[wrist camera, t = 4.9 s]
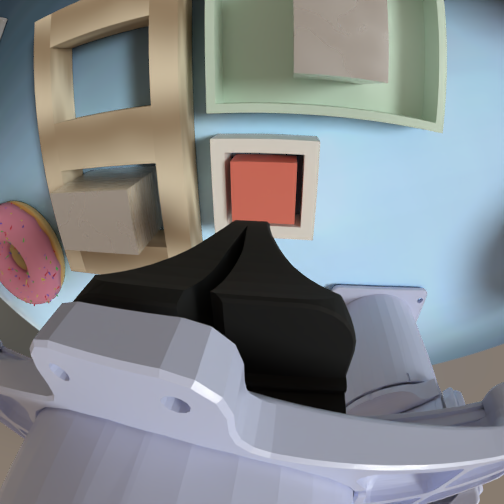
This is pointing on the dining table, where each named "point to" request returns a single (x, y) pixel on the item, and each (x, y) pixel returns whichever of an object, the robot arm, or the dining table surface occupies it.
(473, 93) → the dining table surface
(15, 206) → the doughnut
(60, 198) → the block
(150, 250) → the tan open frame
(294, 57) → the billet
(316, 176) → the button housing
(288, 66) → the tote
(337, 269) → the dining table surface
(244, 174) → the button
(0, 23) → the coffee box
